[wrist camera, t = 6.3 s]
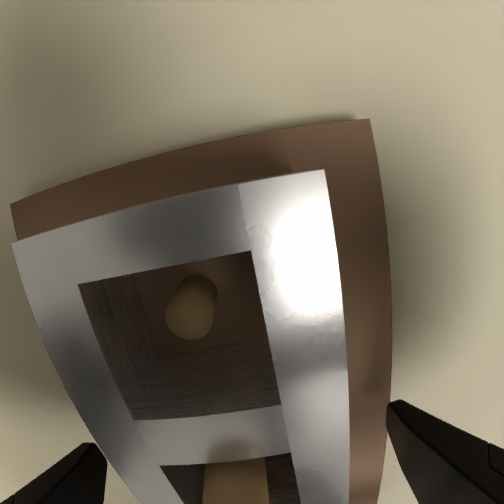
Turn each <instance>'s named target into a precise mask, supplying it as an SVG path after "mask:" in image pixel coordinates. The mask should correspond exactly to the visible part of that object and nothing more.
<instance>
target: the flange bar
mask: <svg viewBox="0 0 504 504" xmlns="http://www.w3.org/2000/svg"><path fill="white" fill-rule="evenodd" d="M11 245H12V249H13V253H14V257H15V260H16V264H17V267H18V271H19V274H20V277H21V281H22V284H23V287H24V290H25V293H26V296H27V299H28V302H29V305H30V307H31V310H32V313H33V316H34V318H35V321H36V324H37V326H38V329H39V331H40V334H41V336H42V338H43V341H44V343H45V346H46V348H47V350H48V352H49V355H50V357H51V359H52V361H53V364H54V366H55V368H56V370H57V372H58V374H59V376H60V378H61V380H62V382H63V384H64V386H65V388H66V390H67V392H68V394H69V396H70V398H71V400H72V401H73V403H74V405H75V407H76V409H77V410H78V412H79V414H80V416H81V417H82V419H83V421H84V423H85V424H86V426H87V428H88V429H89V431H90V433H91V434H92V436H93V437H94V439H95V441H96V442H97V444H98V445H99V447H100V448H101V450H102V451H103V453H104V454H105V456H106V457H107V459H108V460H109V462H110V463H111V465H112V466H113V467H114V469H115V470H116V472H117V473H118V474H119V476H120V477H121V479H122V480H123V481H124V483H125V484H126V485H127V487H128V488H129V489H130V490H131V492H132V493H133V494H134V496H135V497H136V498H137V499H138V500H139V502H140V503H141V504H202V501H203V489H204V478H205V467H206V463H219V462H229V461H238V460H246V459H254V458H261V457H265V463H266V474H267V484H268V494H269V504H348V502H349V468H350V427H349V391H348V370H347V353H346V339H345V326H344V314H343V303H342V293H341V284H340V275H339V266H338V258H337V250H336V242H335V235H334V228H333V221H332V214H331V207H330V201H329V195H328V188H327V182H326V177H325V171H324V169H322V170H311V171H302V172H293V173H287V174H281V175H276V176H270V177H264V178H259V179H254V180H248V181H243V182H238V183H233V184H228V185H223V186H218V187H213V188H209V189H204V190H199V191H195V192H190V193H186V194H181V195H177V196H173V197H168V198H164V199H160V200H156V201H151V202H147V203H143V204H139V205H135V206H131V207H127V208H124V209H120V210H116V211H112V212H108V213H105V214H101V215H97V216H94V217H90V218H87V219H83V220H80V221H76V222H73V223H70V224H67V225H63V226H60V227H57V228H54V229H51V230H48V231H45V232H42V233H39V234H36V235H33V236H30V237H27V238H24V239H22V240H19V241H16V242H13V243H11ZM250 250H251V253H252V258H253V263H254V268H255V273H256V278H257V283H258V288H259V293H260V298H261V303H262V308H263V314H264V319H265V324H266V329H267V334H268V337H267V338H261V339H256V340H251V341H245V342H239V343H234V344H228V345H222V346H215V347H209V348H202V349H196V350H189V351H182V352H174V353H167V354H160V351H159V349H158V346H157V343H156V340H155V337H154V334H153V331H152V328H151V325H150V322H149V319H148V316H147V313H146V309H145V306H144V303H143V300H142V296H141V293H140V290H139V286H138V283H137V279H136V276H135V273H137V272H142V271H148V270H153V269H158V268H163V267H168V266H173V265H178V264H183V263H188V262H193V261H199V260H204V259H209V258H214V257H219V256H224V255H229V254H234V253H240V252H245V251H250Z"/></svg>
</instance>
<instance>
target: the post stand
mask: <svg viewBox="0 0 504 504" xmlns="http://www.w3.org/2000/svg"><path fill="white" fill-rule="evenodd" d="M322 169H324V171H325V177H326V182H327V188H328V195H329V201H330V207H331V214H332V221H333V228H334V235H335V242H336V250H337V258H338V266H339V275H340V284H341V293H342V303H343V314H344V326H345V339H346V353H347V370H348V391H349V427H350V468H349V502H348V504H377V501H378V496H379V490H380V484H381V478H382V471H383V464H384V457H385V448H386V440H387V428H386V409H387V404H388V403H390V391H391V368H392V303H391V280H390V263H389V250H388V239H387V228H386V219H385V210H384V202H383V194H382V187H381V180H380V174H379V167H378V161H377V155H376V150H375V144H374V139H373V134H372V129H371V124H370V119H360V120H349V121H340V122H330V123H322V124H314V125H306V126H299V127H292V128H285V129H279V130H272V131H266V132H260V133H255V134H249V135H244V136H238V137H233V138H228V139H223V140H218V141H214V142H209V143H204V144H200V145H195V146H191V147H187V148H182V149H178V150H174V151H170V152H166V153H162V154H158V155H155V156H151V157H147V158H144V159H140V160H136V161H133V162H129V163H126V164H122V165H119V166H116V167H112V168H109V169H106V170H103V171H99V172H96V173H93V174H90V175H87V176H84V177H81V178H78V179H75V180H72V181H69V182H67V183H64V184H61V185H58V186H55V187H53V188H50V189H47V190H45V191H42V192H39V193H37V194H34V195H32V196H29V197H27V198H24V199H22V200H19V201H17V202H14V203H12V204H10V207H11V212H12V217H13V221H14V226H15V230H16V235H17V239H18V241H19V240H22V239H24V238H27V237H30V236H33V235H36V234H39V233H42V232H45V231H48V230H51V229H54V228H57V227H60V226H63V225H67V224H70V223H73V222H76V221H80V220H83V219H87V218H90V217H94V216H97V215H101V214H105V213H108V212H112V211H116V210H120V209H124V208H127V207H131V206H135V205H139V204H143V203H147V202H151V201H156V200H160V199H164V198H168V197H173V196H177V195H181V194H186V193H190V192H195V191H199V190H204V189H209V188H213V187H218V186H223V185H228V184H233V183H238V182H243V181H248V180H254V179H259V178H264V177H270V176H276V175H281V174H287V173H293V172H302V171H311V170H322ZM135 276H136V279H137V283H138V286H139V290H140V293H141V296H142V300H143V303H144V306H145V309H146V313H147V316H148V319H149V322H150V325H151V328H152V331H153V334H154V337H155V340H156V343H157V346H158V349H159V351H160V354H167V353H174V352H182V351H189V350H196V349H202V348H209V347H215V346H222V345H228V344H234V343H239V342H245V341H251V340H256V339H261V338H267V337H268V334H267V329H266V324H265V319H264V314H263V308H262V303H261V298H260V293H259V288H258V283H257V278H256V273H255V268H254V263H253V258H252V253H251V250H250V251H245V252H240V253H234V254H229V255H224V256H219V257H214V258H209V259H204V260H199V261H193V262H188V263H183V264H178V265H173V266H168V267H163V268H158V269H153V270H148V271H142V272H137V273H135ZM202 504H269V494H268V484H267V474H266V463H265V457H261V458H254V459H246V460H238V461H229V462H219V463H206V467H205V478H204V489H203V501H202Z"/></svg>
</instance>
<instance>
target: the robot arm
mask: <svg viewBox="0 0 504 504" xmlns="http://www.w3.org/2000/svg"><path fill="white" fill-rule="evenodd" d="M386 428H387V431H388V434H389V437H390V439H391V442H392V445H393V448H394V450H395V453H396V456H397V459H398V462H399V464H400V467H401V469H402V471H403V473H404V475H405V477H406V479H407V481H408V483H409V485H410V487H411V489H412V491H413V493H414V495H415V497H416V499H417V501H418V503H419V504H504V449H503V448H500V447H498V446H496V445H493V444H491V443H489V444H488V442H487V441H484V440H482V439H480V438H478V437H476V436H474V435H472V434H469V433H467V432H465V431H463V430H461V429H459V428H457V427H455V426H453V425H451V424H449V423H447V422H445V421H443V420H441V419H439V418H437V417H435V416H433V415H431V414H429V413H427V412H425V411H423V410H421V409H419V408H417V407H415V406H413V405H411V404H409V403H407V402H405V401H403V400H400V399H399V400H396V401H393V402H390V403H388V404H387V409H386ZM106 474H107V460H106V458H105V457H104V455H103V454H102V452H101V451H100V449H99V448H98V446H97V445H96V444H95V443H88V442H85V443H82V444H81V445H79V446H78V447H77V448H76V449H74V450H73V451H72V452H70V453H69V454H68V455H66V456H65V457H64V458H62V459H61V460H60V461H58V462H57V463H56V464H54V465H53V466H52V467H50V468H49V469H48V470H46V471H45V472H44V473H42V474H41V475H39V476H38V477H37V478H35V479H34V480H33V481H31V482H30V483H28V484H27V485H26V486H24V487H23V488H21V489H20V490H19V491H17V492H16V493H15V494H14V495H12V496H10V497H9V498H7V499H6V500H4V501H3V502H1V503H0V504H103V502H104V493H105V483H106Z"/></svg>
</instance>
